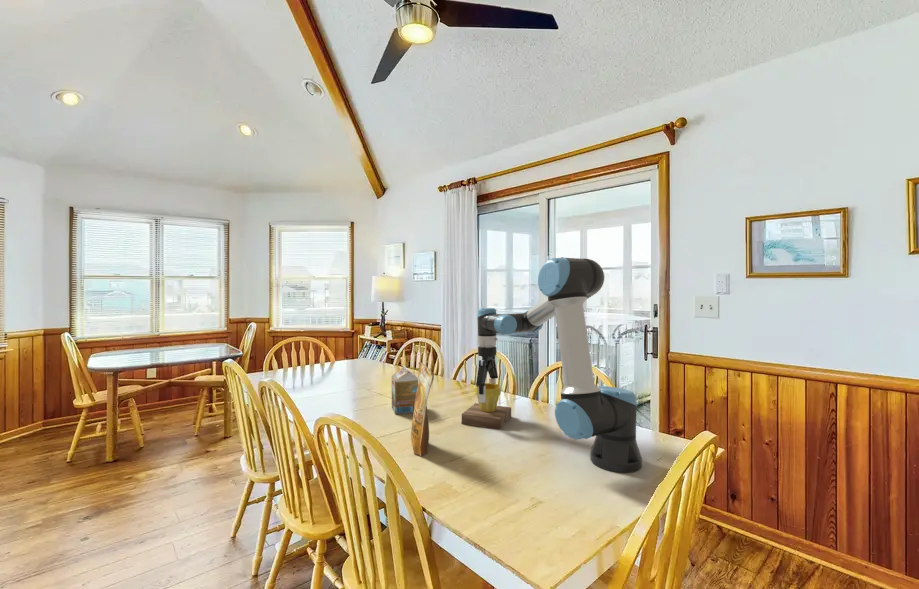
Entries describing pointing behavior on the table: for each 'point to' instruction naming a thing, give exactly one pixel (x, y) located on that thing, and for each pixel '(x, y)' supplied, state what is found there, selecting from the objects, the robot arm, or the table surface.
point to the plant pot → (490, 397)
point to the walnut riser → (486, 417)
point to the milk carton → (404, 391)
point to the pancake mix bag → (421, 412)
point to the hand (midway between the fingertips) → (487, 398)
